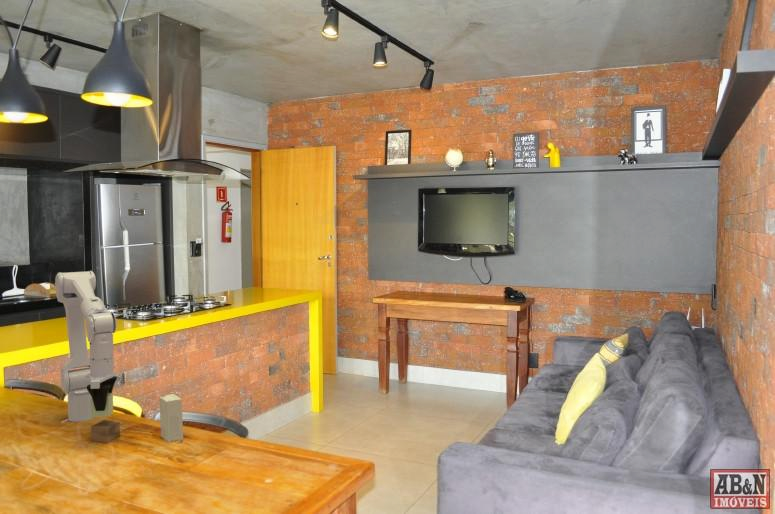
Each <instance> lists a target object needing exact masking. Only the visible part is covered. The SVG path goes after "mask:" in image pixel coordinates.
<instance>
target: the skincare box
mask: <svg viewBox="0 0 775 514" xmlns="http://www.w3.org/2000/svg"><path fill="white" fill-rule="evenodd" d="M158 400H159V419H160V420H159V421H160V422H159V423H160V435H161V437H162V438H163V439H164V440H165V441H166V442H167V443H172V442H176V441H179V442H177V443H176V444H177V445H178V444H181V443H184V427H183V425H184V424H183V423H184V422H183V406H182V404H183V403H182V398H181V397H179V396H177V395H176V394H175V393H171V394H166V395H161V396H159V399H158Z"/></svg>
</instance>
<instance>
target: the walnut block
mask: <svg viewBox="0 0 775 514" xmlns="http://www.w3.org/2000/svg"><path fill="white" fill-rule="evenodd" d="M90 435H91V436H90V437H91V438H90V439H91V442H97V443H104V444H105V443H107V444H108V443H110V442H112V441H114V440H116V439H117V438H119V437H121V422H120V421H115V420H107V419H103V420H101V421H98V422H97V423H95V424H92V425H91V426H90Z"/></svg>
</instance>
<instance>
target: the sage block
mask: <svg viewBox="0 0 775 514" xmlns="http://www.w3.org/2000/svg"><path fill="white" fill-rule="evenodd" d="M90 404H91V417H94V418H104V417H105V418H106V417H110V416H111V414H112V413H113V412H114V393H113V392H112V393H108V394H107V400H106V407H105V410H104V411H96V410H95V407H94V403H93V399H92V398H91V399H90Z"/></svg>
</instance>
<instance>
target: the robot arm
mask: <svg viewBox="0 0 775 514" xmlns="http://www.w3.org/2000/svg"><path fill="white" fill-rule="evenodd" d="M54 281H55V282H54V285H55V286H54V287H55V295H56V298H57V302H58V303H62V304H63V307H64V311H65V319H66V327H67V338H68V349H69V357H70V358H69V360H67V361H66V362H65V363H64V364H63V365H62V366H61V368H60V387H61V389H62V391H63V393H67V417H68V418H66V419H63V420H61V421H60V424H62V423H65V422H67V421H69V422H75V423H78V422H81V423H82V422H86V421H89V420H93V419H94V418H95V417H91V404H90V399H91V398H92V399H93V403H94V407H95V410H96V411H104V410H105V407H106V400H107V394H108V393H113V390H114V386H115V384H116V381H117V379H118V376H115V373H116V372H115V371H114V368H115V367H114V366H115V365H114V333H116V331H117V319H116V315H115V313H114V311H111V310H107V308H106V305H105V304H104V302H103V300H102V299H101V298H100V297H98V296H96V295H95V290H96V288H97V280H96V273H94V272H93V271H92V270H88V271H74V272H73V271H71V272H60V271H59V272H57V274H56V275H55V279H54ZM87 342H89V351H88V343H87Z"/></svg>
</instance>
